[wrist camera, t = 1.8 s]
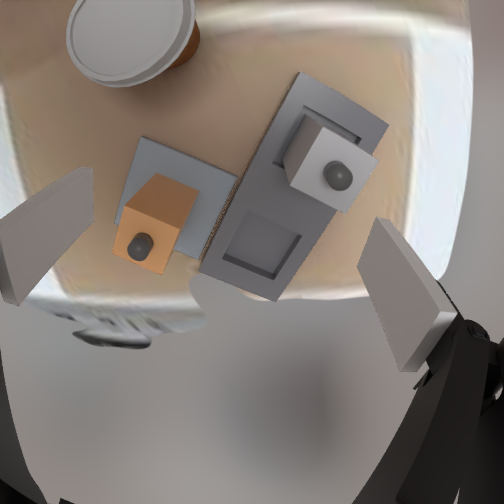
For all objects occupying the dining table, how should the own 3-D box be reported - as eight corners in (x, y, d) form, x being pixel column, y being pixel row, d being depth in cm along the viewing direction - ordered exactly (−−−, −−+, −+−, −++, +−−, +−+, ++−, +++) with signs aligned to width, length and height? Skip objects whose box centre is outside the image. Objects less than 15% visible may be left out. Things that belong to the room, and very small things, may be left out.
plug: (142, 211, 34) (104, 262, 25) (156, 172, 31) (116, 213, 22) (182, 229, 35) (157, 286, 26) (199, 190, 32) (175, 238, 23)
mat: (116, 221, 35) (114, 223, 34) (142, 135, 30) (140, 136, 29) (198, 257, 37) (198, 259, 37) (237, 176, 32) (237, 177, 32)
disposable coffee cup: (199, 93, 28) (164, 100, 17) (114, 75, 26) (47, 80, 16) (229, 8, 23) (212, -32, 13) (141, -7, 22) (85, -39, 11)
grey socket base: (201, 261, 38) (183, 327, 28) (298, 72, 26) (319, 66, 17) (275, 292, 40) (278, 360, 30) (382, 122, 28) (435, 145, 19)
